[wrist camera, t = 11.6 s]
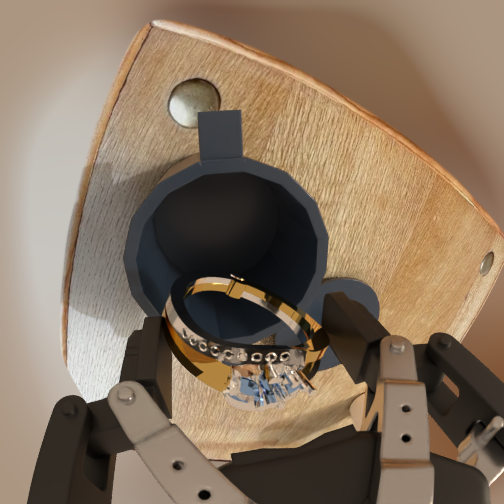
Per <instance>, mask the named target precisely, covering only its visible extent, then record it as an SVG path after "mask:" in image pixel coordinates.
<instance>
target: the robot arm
mask: <svg viewBox="0 0 504 504" xmlns="http://www.w3.org/2000/svg"><path fill="white" fill-rule="evenodd" d="M321 326H322V328H323V329H324V331H325V332H326V333H327V334H328V336H329V339H330V345H331V347H332V348H333V350H334V351H335V353H336V354H337V356H338V358H339V359H340V361H341V362H342V364H343V365H344V367H345V369H346V370H347V372H348V373H349V375H350V376H351V378H352V380H353V381H354V383H355V384H358V383H361V382H364V381H365V382H366V384H367V387H366V390H365V400H364V410H363V418H362V425H361V429H360V431H356V429H355V427H354V426H353V424H351V425H348V426H346V427H343V428H340V429H336V430H333V431H330V432H327V433H324V434H323V435H321V436H319V437H317V438H315V439H314V440H312V441H310V442H308V443H306V444H304V445H302V446H300V447H298V448H262V449H257V450H251V451H245V452H239V453H232V454H231V458H232V461H231V462H229V463H226V464H224V465H222V466H220V467H218V468H216V467H215V466H214V465H213V464H212V463H211V462H210V461H209V460H208V459H207V458H206V457H205V456H204V455H203V454H202V453H201V452H200V451H199V449H198V448H197V447H196V446H195V445H194V444H193V443H192V442H191V441H190V440H189V438H188V437H187V436H186V435H185V434H184V433H183V432H182V430H181V429H180V428H179V427H178V426H177V425H176V424H172V423H171V422H170V421H169V420H168V419H172V352H171V349H170V348H169V346H168V344H167V341H166V339H165V336H164V333H163V328H162V316H155V317H145V319H144V324H143V329H142V330H134V332H133V333H132V334H131V335H130V337H129V338H128V341H127V346H126V350H125V357H124V360H123V365H122V370H121V375H120V380H119V383H118V384H116V385H115V386H114V387H112V388H111V390H110V391H109V393H108V397H107V398H104V399H101V400H98V401H94V402H90V403H86V402H85V400H84V399H83V398H81V397H79V396H76V395H70V396H66V397H63V398H62V399H60V400H59V401H58V402H57V403H56V405H55V407H54V409H53V412H52V415H51V417H50V420H49V423H48V426H47V429H46V432H45V436H44V439H43V442H42V445H41V448H40V452H39V455H38V459H37V462H36V466H35V470H34V474H33V478H32V482H31V487H30V492H29V496H28V501H27V504H111V500H112V489H113V479H114V471H115V463H116V455H117V453H120V452H124V451H127V450H131V449H135V450H136V452H137V453H138V455H139V456H140V458H141V459H142V461H143V462H144V463H145V465H146V466H147V468H148V469H149V471H150V472H151V473H152V475H153V476H154V477H155V479H156V480H157V482H158V483H159V484H160V485H161V487H162V488H163V489H164V491H165V492H166V493H167V494H168V496H169V497H170V498H171V499H172V500H173V502H174V503H175V504H491V501H490V487H489V485H490V484H491V483H492V482H493V481H494V480H495V479H496V478H497V477H498V476H499V475H500V474H501V473H502V472H503V471H504V383H503V382H502V381H501V380H500V379H499V378H498V377H496V375H494V374H493V373H492V372H491V371H490V370H489V369H488V368H487V367H486V366H485V365H484V364H483V363H482V362H480V361H479V360H478V359H477V358H476V357H475V356H474V355H473V354H472V353H471V352H469V351H468V350H467V349H466V348H465V347H464V346H463V345H462V344H460V343H459V342H458V341H457V340H456V339H455V338H454V337H452V336H451V335H449V334H446V333H434V334H432V335H431V336H430V338H429V341H428V344H416V345H412V343H411V342H410V341H409V340H408V339H406V338H404V337H402V336H397V335H390V333H389V332H388V331H387V330H386V329H385V328H384V327H383V326H382V325H381V324H380V322H379V321H378V320H377V319H376V318H374V316H373V315H372V314H371V313H369V310H368V309H367V308H366V307H365V306H364V305H363V304H361V303H359V302H357V301H355V300H350V299H349V298H348V297H347V295H346V294H345V293H344V292H343V291H338V292H332V293H327V294H325V296H324V302H323V311H322V320H321ZM445 375H446V376H448V377H449V379H450V380H451V381H452V382H453V383H454V384H455V385H456V386H457V387H458V389H459V397H457V396H456V395H455V394H454V393H453V392H452V391H451V390H450V389H449V388H448V387H447V385H446V384H445V383H444V382H443V381H442V380H443V378H444V376H445ZM428 413H429V414H430V415H431V417H432V418H433V419H434V420H435V422H436V423H437V424H438V425H439V426H440V427H441V429H442V430H443V431H444V432H445V434H446V435H447V436H448V437H449V439H450V440H451V441H452V442H453V444H454V445H455V446H456V447H457V449H458V458H457V460H456V461H455V460H452V459H449V458H446V457H443V456H440V455H437V454H434V453H432V452H429V424H428Z"/></svg>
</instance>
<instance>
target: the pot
mask: <svg viewBox="0 0 504 504" xmlns="http://www.w3.org/2000/svg"><path fill="white" fill-rule="evenodd" d="M197 116H198V136H199V153H196V154H194V155H192V156H190V157H188V158H186V159H184V160H182V161H180V162H179V163H177V164H175V165H173V166H171V167H170V168H169V169H168V171H167V172H166V173H165V174H164V175H163V177H162V178H161V179H160V180H159V182H158V183H157V184H156V186H155V187H154V188H153V189H152V191H151V192H150V193H149V195H148V196H147V197H146V199H145V200H144V202H143V203H142V204H141V206H140V207H139V208H138V210H137V211H136V213H135V214H134V216H133V217H132V219H131V223H130V227H129V232H128V236H127V241H126V246H125V251H124V256H123V258H124V259H123V261H124V266H125V270H126V274H127V278H128V282H129V286H130V290H131V294H132V296H133V298H134V299H135V300H136V302H137V303H138V304H139V306H140V307H141V308H142V309H143V311H144V312H145V313H146V315H147V316H148V317H155V316H162V312H163V308H164V305H165V303H166V299H167V296H168V294H169V291H170V289H171V287H172V285H173V283H174V282H175V280H176V279H177V278H179V277H180V276H182V275H184V274H186V273H189V272H193V271H216V272H222V273H226V274H231V273H235V274H238V275H240V276H242V277H244V278H245V280H247V281H250V282H252V283H255V284H257V285H259V286H261V287H264V288H266V289H268V290H270V291H272V292H274V293H275V294H277V295H279V296H281V297H283V298H284V299H286V300H287V301H289V302H291V303H292V304H294V305H295V306H297V307H298V308H300V309H301V310H302V311H304V310H305V309H306V308H307V307H308V306H309V305H310V303H311V302H312V300H313V298H314V296H315V294H316V292H317V290H318V288H319V286H320V284H321V282H322V280H323V278H324V275H325V273H326V267H327V255H328V240H329V237H328V233H327V230H326V227H325V224H324V222H323V219H322V216H321V213H320V211H319V208H318V205H317V202H316V201H315V199H314V198H313V197H312V196H311V195H310V194H309V193H308V192H307V191H306V190H305V189H304V188H303V187H302V186H301V185H300V184H299V183H298V182H297V181H296V180H295V179H294V178H293V177H292V176H291V175H290V174H289V173H287V172H285V171H283V170H280V169H278V168H275V167H272V166H270V165H267V164H265V163H262V162H259V161H257V160H254V159H251V158H248V157H245V156H243V139H242V114H241V110H225V111H208V112H198V114H197ZM184 303H185V306H186V309H187V311H188V313H189V314H190V316H191V317H192V319H193V320H194V321H195V323H196V324H197V325H198V326H199V327H201V328H202V329H203V330H204V331H206V332H207V333H209V334H211V335H213V336H215V337H217V338H220V339H223V340H226V341H230V342H235V343H241V344H251V345H252V344H254V343H256V342H258V341H260V340H262V339H265V338H267V337H269V336H271V335H273V334H275V333H277V332H279V331H281V330H283V329H285V328H286V327H287V326H288V325H287V324H286V323H285V322H284V321H283V320H282V319H280V318H279V317H278V316H277V315H275V314H274V313H272V312H271V311H269V310H268V309H266V308H264V307H262V306H261V305H259V304H257V303H255V302H252V301H250V300H248V299H245V298H243V297H241V298H240V299H237V298H233V297H231V296H228V295H227V294H226V292H222V291H213V290H206V291H200V292H196V293H194V294H192V295H190V296H188V297H187V298H186V299H185V300H184ZM221 362H222V363H223V364H225V365H227V366H229V367H231V365H234V366H238V365H244V364H237V363H230V362H225V361H221Z"/></svg>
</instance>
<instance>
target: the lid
mask: <svg viewBox="0 0 504 504" xmlns="http://www.w3.org/2000/svg"><path fill="white" fill-rule="evenodd" d="M338 291H343V292H344V293H345V294H346V295H347V297H348V298H349V299H350V300H355V301H357V302H359V303H361V304H363V305H364V306H365V307H366V308H367V309H368V310H369V313H371V314H372V315H373V316H374V318H376V319H377V320H378V318H379V309H380V308H379V301H378V298H377V295H376V293H375V292H374V291H373V289H372V288H371V287H370V286H369V285H367V284H366V283H365V282H363V281H361V280H358V279H355V278H350V277H341V278H333V279H329V280H326V281H323V282H321V284H320V286H319V288H318V290H317V292H316V294H315V296H314V298H313V300H312V302H311V303H310V305H309V306H308V307H307V308H306V309H305V310H304V312H305V313H306V314H308V315H309V316H310V317H311V318H312V319H314V320H315V321H316V322H317V323H318V324H319V325H320V326H321V320H322V311H323V302H324V296H325V294H327V293H332V292H338ZM321 327H322V326H321ZM274 342H275V345H286V346H292V347H293V346H296V345H299V344H301V342H300V340H299V338H298V337H297V335H296V334H295V332H294V331H293V330H292V329H291V328H290V327H289V326H287V327H286V328H285V329H283V330H281V331H279V332H277V333H275V337H274ZM339 364H342V362H341V361H340V359H339V358H338V356H337V354H336V353H335V351H334V350H333V348H332V347H331V345H330V344H329V346H328V347H327V349H326V351H325V353H324V355H323V356H322V357H321V361H320V366H319V369H318V371H322V370H326V369H329V368H332V367H335V366H337V365H339ZM301 369H302V368H301ZM301 369H297V370H299V371H301Z"/></svg>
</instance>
